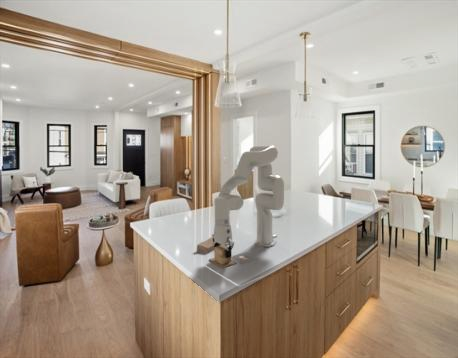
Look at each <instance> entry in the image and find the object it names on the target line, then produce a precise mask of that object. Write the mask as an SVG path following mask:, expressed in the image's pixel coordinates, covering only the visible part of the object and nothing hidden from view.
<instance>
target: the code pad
mask: <svg viewBox="0 0 458 358" xmlns="http://www.w3.org/2000/svg"><path fill="white" fill-rule="evenodd" d="M231 259H232V260H234V261H236V262H237V263H239V264H241V265H245V264H247V263H249V262H252V261H255V260H258V259H259V257H257V256H254V255H252V254H249V253H247V252H245V251H244V252H241V253H238V254H235V255H231Z"/></svg>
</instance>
